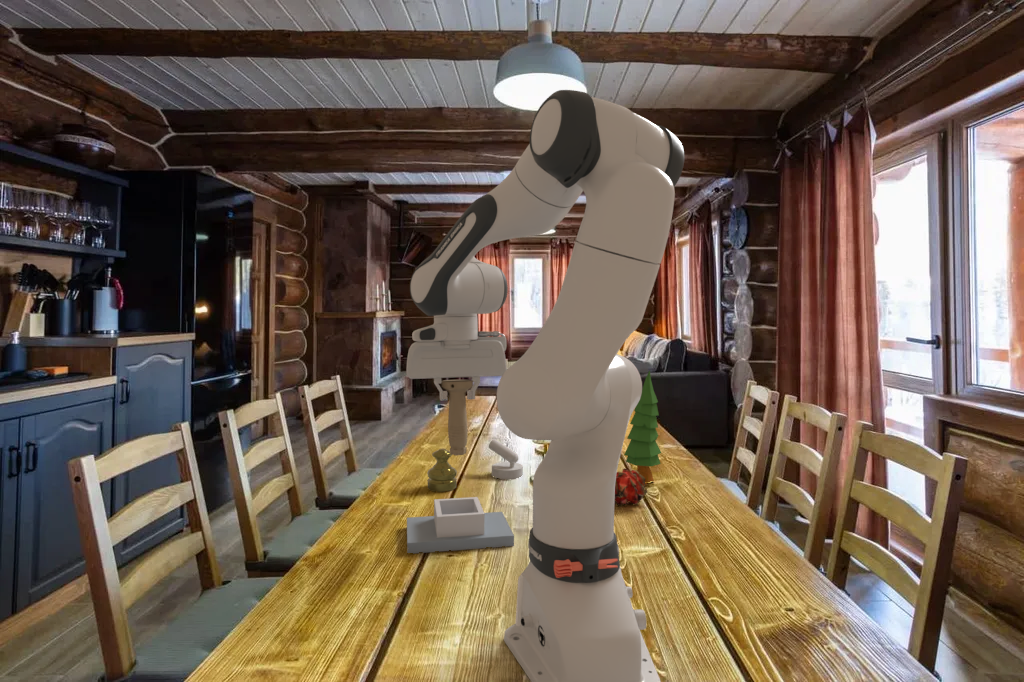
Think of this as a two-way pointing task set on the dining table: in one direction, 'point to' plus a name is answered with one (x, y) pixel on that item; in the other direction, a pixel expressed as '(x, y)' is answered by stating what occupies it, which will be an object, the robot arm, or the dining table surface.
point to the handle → (457, 414)
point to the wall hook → (505, 468)
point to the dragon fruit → (629, 487)
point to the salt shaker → (442, 473)
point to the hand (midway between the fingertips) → (457, 399)
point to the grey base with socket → (458, 527)
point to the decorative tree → (644, 433)
